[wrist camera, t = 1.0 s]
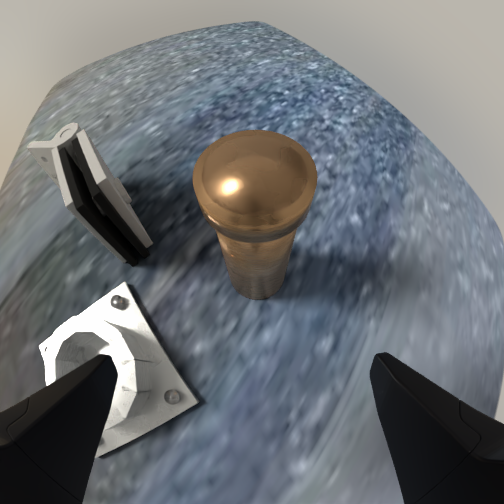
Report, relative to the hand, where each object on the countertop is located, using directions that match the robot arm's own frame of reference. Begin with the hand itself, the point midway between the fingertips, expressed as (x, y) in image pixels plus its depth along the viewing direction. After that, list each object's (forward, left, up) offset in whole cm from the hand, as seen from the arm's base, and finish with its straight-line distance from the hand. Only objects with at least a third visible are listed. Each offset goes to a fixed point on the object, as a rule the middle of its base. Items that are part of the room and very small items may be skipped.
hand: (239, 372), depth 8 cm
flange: (+6, +11, -13) cm, 18 cm away
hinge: (+20, +4, -13) cm, 25 cm away
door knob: (+6, -5, -13) cm, 15 cm away
